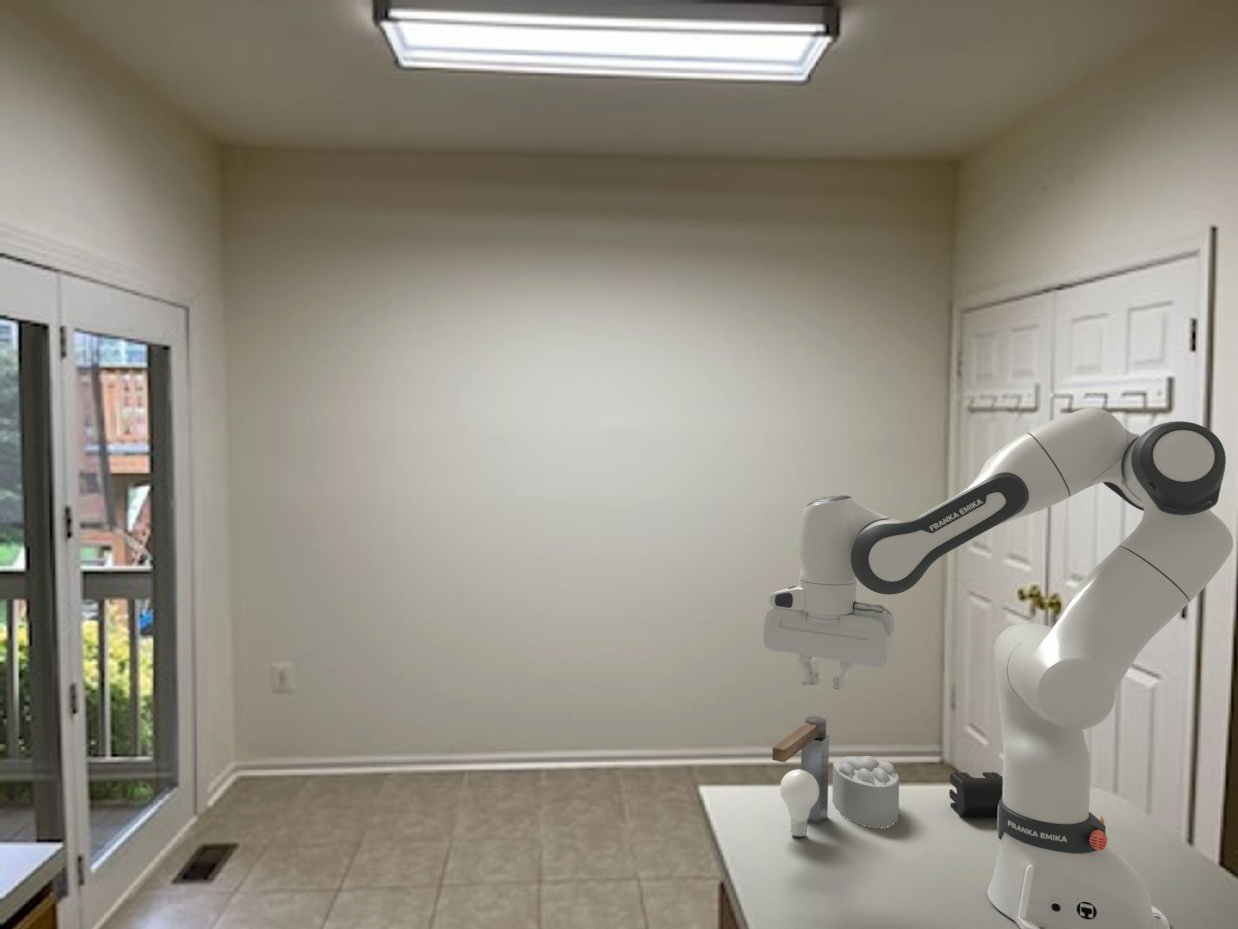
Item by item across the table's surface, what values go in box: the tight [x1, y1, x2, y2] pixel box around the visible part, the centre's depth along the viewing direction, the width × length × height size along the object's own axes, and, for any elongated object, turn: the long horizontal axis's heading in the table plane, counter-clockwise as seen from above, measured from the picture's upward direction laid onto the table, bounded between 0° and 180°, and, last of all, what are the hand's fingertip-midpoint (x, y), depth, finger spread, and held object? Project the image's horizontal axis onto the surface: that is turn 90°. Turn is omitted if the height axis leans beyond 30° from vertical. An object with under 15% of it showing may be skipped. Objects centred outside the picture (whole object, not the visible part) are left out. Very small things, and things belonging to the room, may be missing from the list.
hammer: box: [772, 715, 827, 763], centre depth 142 cm, size 4×18×3 cm, turn 146°
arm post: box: [800, 734, 830, 825], centre depth 148 cm, size 4×4×14 cm
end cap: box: [948, 771, 1003, 817], centre depth 151 cm, size 10×7×7 cm
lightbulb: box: [779, 768, 819, 838], centre depth 141 cm, size 6×6×11 cm
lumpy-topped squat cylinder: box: [831, 755, 900, 829], centre depth 151 cm, size 10×13×9 cm
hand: (825, 686), depth 134 cm, fingers open, 3 cm apart
